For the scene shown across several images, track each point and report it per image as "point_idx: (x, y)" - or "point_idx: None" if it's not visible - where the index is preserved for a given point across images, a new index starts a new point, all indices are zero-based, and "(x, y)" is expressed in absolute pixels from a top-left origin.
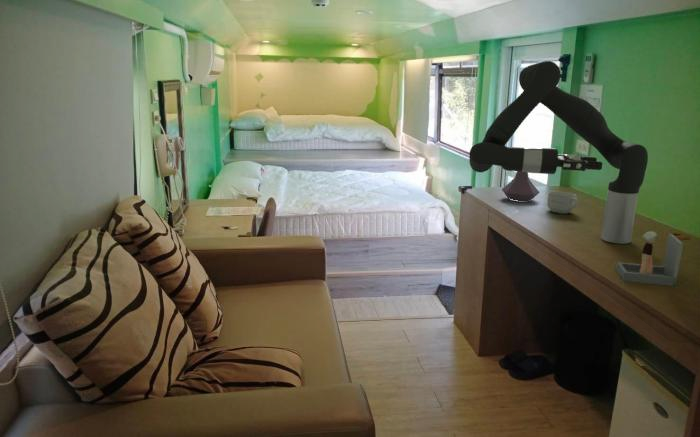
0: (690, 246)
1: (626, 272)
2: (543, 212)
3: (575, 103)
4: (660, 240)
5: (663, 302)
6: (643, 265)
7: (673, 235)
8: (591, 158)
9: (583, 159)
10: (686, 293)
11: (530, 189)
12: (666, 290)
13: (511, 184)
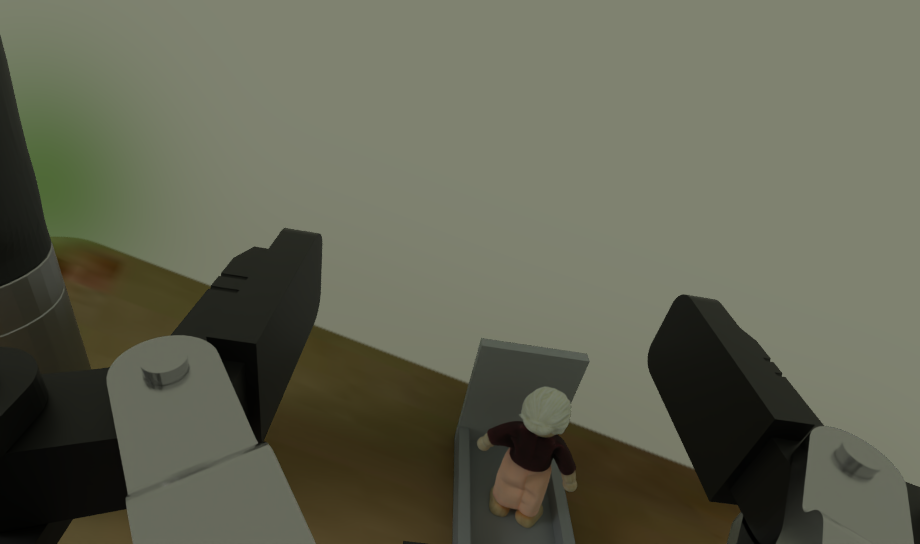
0: (186, 283)
1: None
2: None
3: None
4: (102, 319)
5: (700, 529)
6: (543, 494)
7: (498, 341)
8: (300, 274)
9: (259, 373)
10: (590, 443)
11: None
12: (593, 483)
13: None
